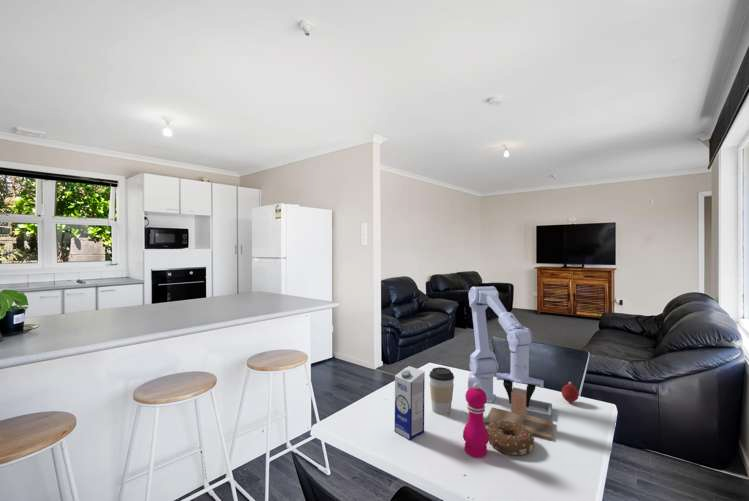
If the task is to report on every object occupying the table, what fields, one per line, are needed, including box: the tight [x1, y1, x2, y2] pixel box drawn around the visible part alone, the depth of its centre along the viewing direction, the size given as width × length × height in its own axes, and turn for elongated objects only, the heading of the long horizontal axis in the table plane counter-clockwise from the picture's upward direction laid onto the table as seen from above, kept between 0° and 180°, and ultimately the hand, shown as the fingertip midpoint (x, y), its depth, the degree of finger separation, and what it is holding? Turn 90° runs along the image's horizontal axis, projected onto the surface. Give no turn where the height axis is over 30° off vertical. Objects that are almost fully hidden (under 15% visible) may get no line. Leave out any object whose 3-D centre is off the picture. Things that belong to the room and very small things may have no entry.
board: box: [484, 406, 554, 442], centre depth 118 cm, size 20×12×1 cm, turn 61°
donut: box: [486, 420, 535, 456], centre depth 105 cm, size 14×14×5 cm
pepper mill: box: [462, 383, 489, 459], centre depth 101 cm, size 7×7×20 cm
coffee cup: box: [428, 366, 455, 416], centre depth 127 cm, size 9×9×15 cm
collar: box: [526, 399, 553, 421], centre depth 127 cm, size 10×10×2 cm
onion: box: [561, 381, 580, 404], centre depth 134 cm, size 6×6×8 cm
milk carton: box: [394, 365, 426, 441], centre depth 112 cm, size 7×7×20 cm
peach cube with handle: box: [510, 386, 528, 416], centre depth 117 cm, size 6×5×7 cm
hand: (519, 404), depth 117 cm, fingers closed on peach cube with handle, 5 cm apart
